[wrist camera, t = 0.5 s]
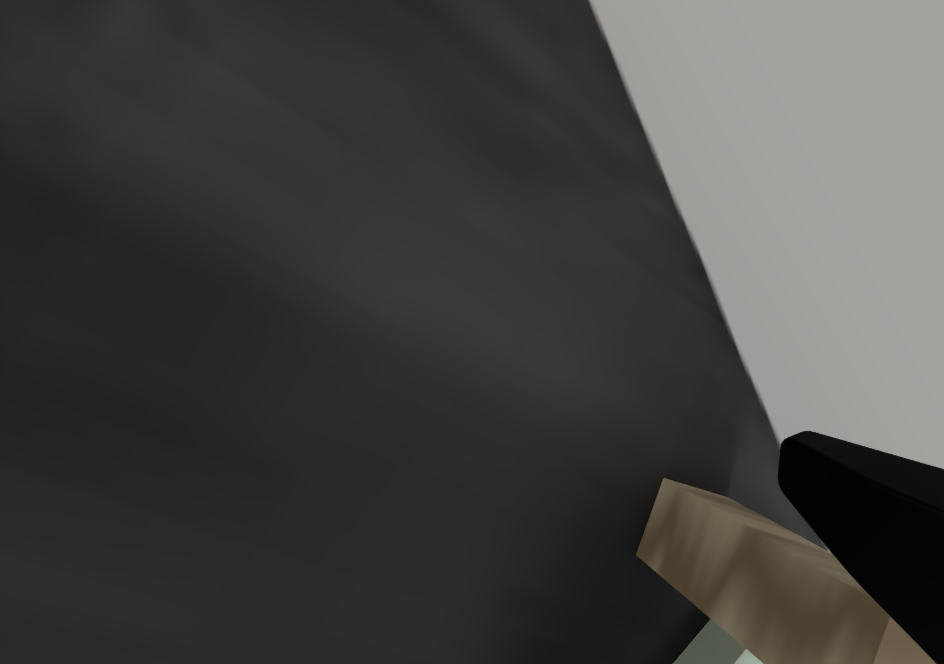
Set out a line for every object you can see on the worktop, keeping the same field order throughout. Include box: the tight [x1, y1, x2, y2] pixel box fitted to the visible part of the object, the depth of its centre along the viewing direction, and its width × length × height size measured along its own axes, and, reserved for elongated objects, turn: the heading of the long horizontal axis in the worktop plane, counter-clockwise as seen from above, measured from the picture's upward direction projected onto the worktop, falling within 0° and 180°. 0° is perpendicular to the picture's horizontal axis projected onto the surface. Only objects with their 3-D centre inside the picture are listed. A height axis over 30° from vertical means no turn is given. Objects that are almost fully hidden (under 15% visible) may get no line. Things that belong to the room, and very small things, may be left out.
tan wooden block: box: [636, 478, 936, 664], centre depth 25 cm, size 4×4×12 cm
